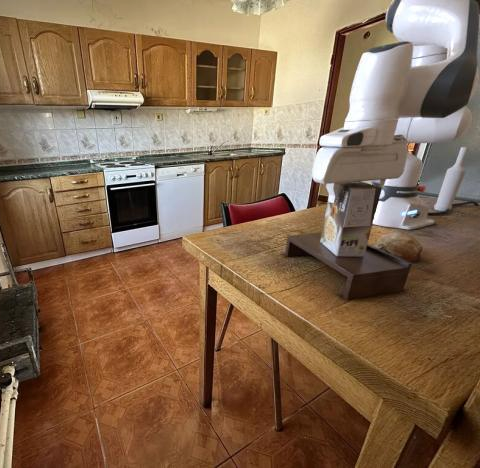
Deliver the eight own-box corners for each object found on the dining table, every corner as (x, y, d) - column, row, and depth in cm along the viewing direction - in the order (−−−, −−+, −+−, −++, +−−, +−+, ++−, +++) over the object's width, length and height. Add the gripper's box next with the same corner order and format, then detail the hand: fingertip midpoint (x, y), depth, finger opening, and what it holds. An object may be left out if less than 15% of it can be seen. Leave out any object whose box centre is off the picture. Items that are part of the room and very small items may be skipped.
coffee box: (365, 257, 59) (384, 187, 53) (336, 257, 59) (351, 188, 53) (344, 241, 67) (358, 179, 61) (318, 241, 68) (330, 180, 62)
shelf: (327, 249, 76) (332, 228, 74) (402, 290, 56) (412, 263, 54) (284, 255, 74) (287, 233, 72) (347, 299, 54) (354, 271, 52)
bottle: (439, 211, 106) (463, 147, 97) (430, 208, 111) (451, 147, 101) (454, 211, 105) (479, 147, 96) (443, 208, 110) (466, 146, 101)
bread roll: (367, 260, 77) (365, 240, 73) (389, 241, 78) (389, 220, 75) (406, 275, 68) (407, 253, 64) (431, 253, 70) (433, 231, 66)
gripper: (393, 134, 58) (377, 194, 63) (313, 137, 55) (303, 200, 60) (424, 134, 52) (404, 200, 57) (336, 138, 49) (322, 207, 54)
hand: (351, 200), depth 59 cm, fingers open, 8 cm apart
